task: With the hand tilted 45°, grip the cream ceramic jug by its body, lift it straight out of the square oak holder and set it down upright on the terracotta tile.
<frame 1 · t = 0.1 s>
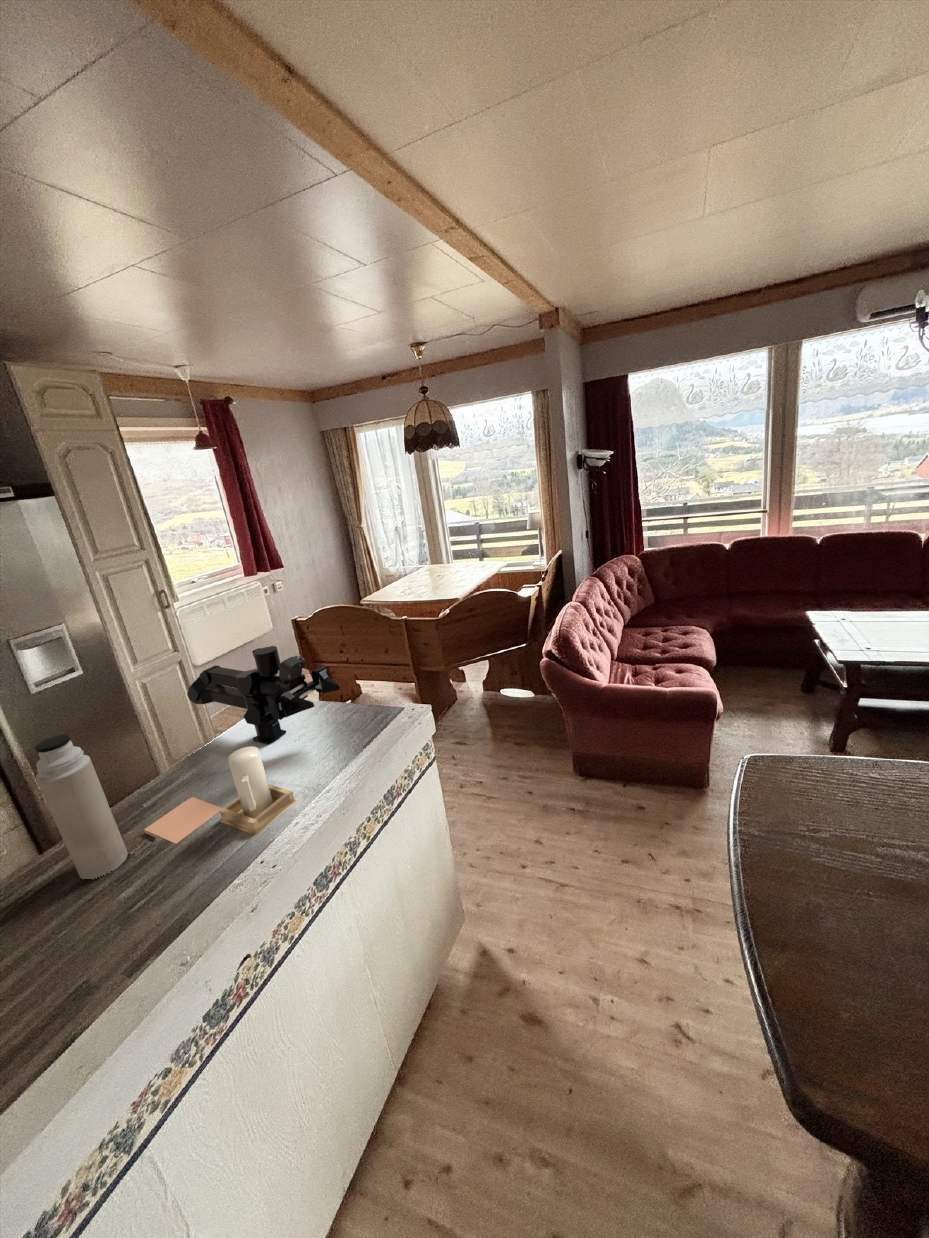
hand: (327, 696, 120), 17 cm above the counter, tool horizontal, fingers open, 9 cm apart
holder: (260, 814, 106), on the counter
thermos bottle: (104, 864, 97), on the counter
tile: (185, 822, 106), on the counter
jug: (259, 810, 106), point 1 cm above the counter, touching holder
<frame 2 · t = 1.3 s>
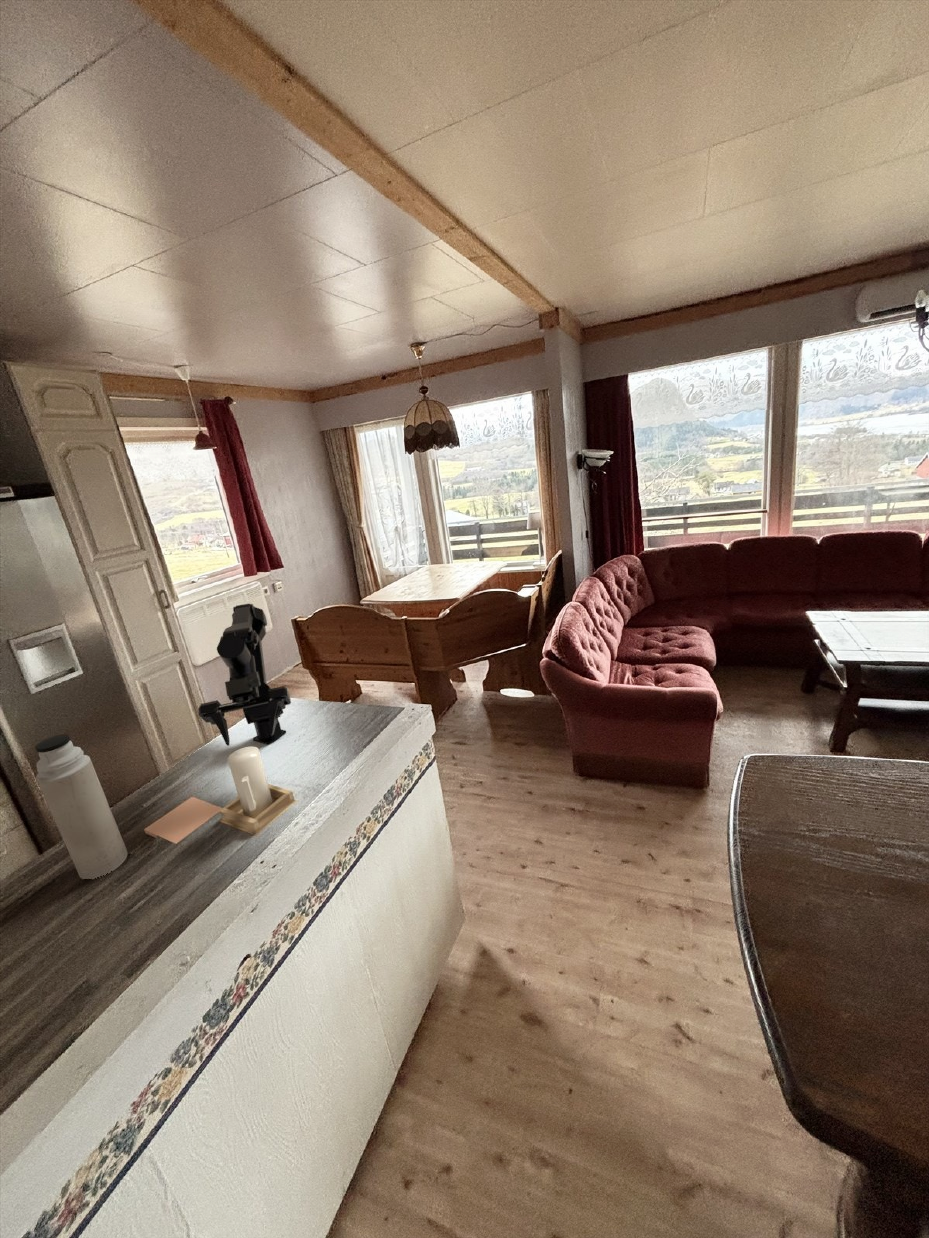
hand: (250, 739, 109), 14 cm above the counter, tool tilted 45°, fingers open, 9 cm apart
nothing on the counter moved.
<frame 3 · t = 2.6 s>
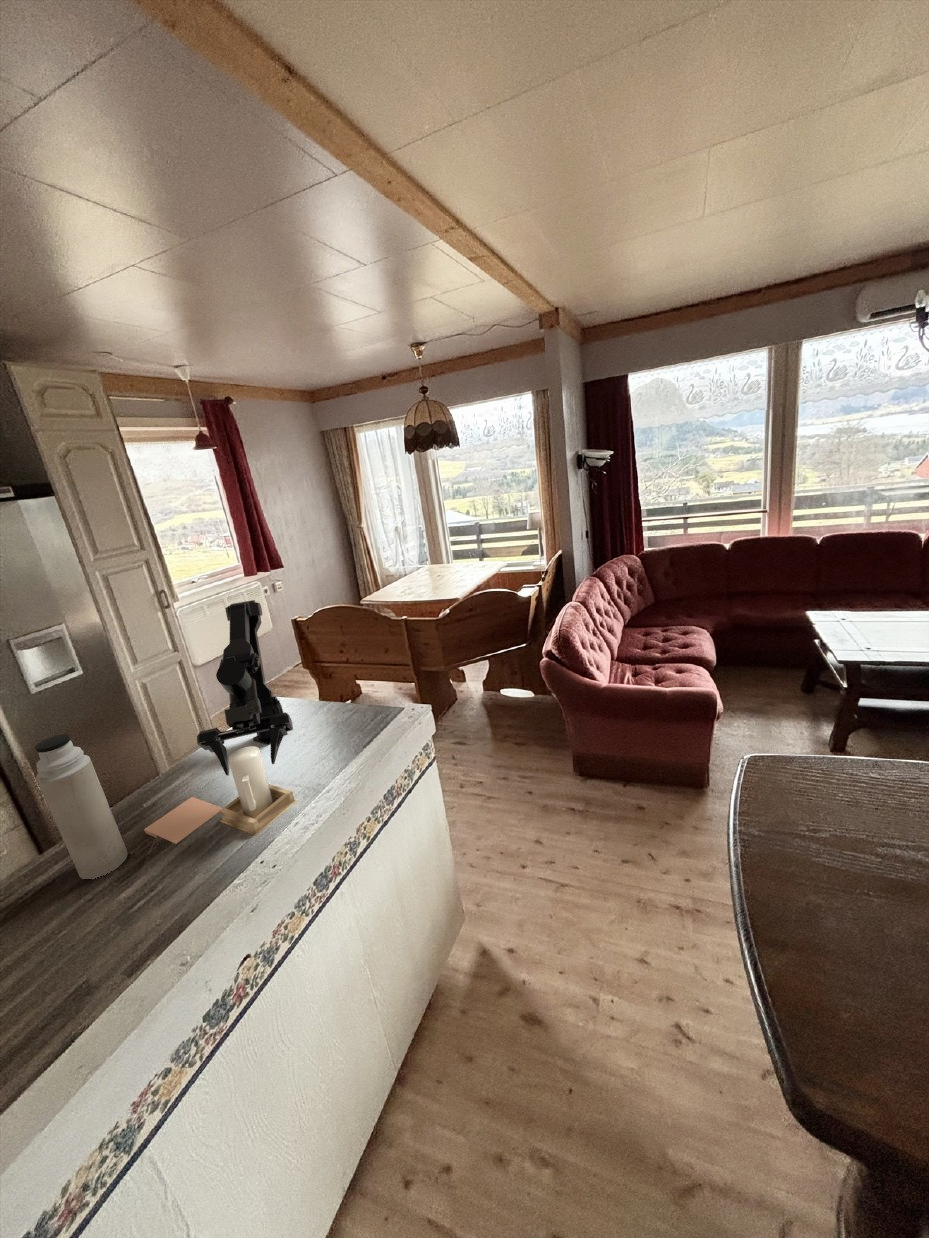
hand: (250, 769, 105), 10 cm above the counter, tool tilted 45°, fingers open, 9 cm apart
nothing on the counter moved.
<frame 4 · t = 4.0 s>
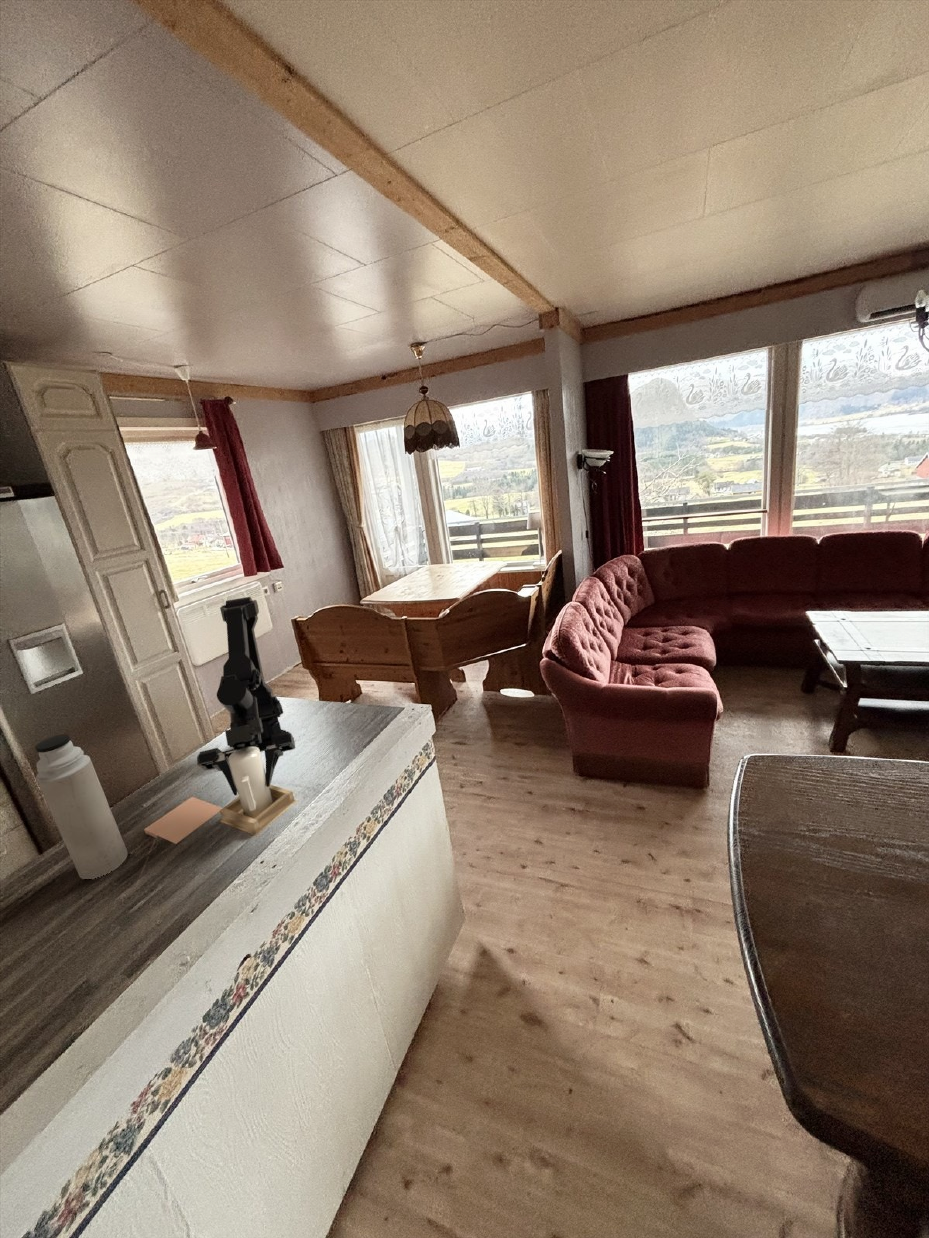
hand: (252, 790, 103), 7 cm above the counter, tool tilted 45°, fingers closed on jug, 6 cm apart
jug: (259, 810, 106), point 1 cm above the counter, touching gripper, holder
everything else where it was.
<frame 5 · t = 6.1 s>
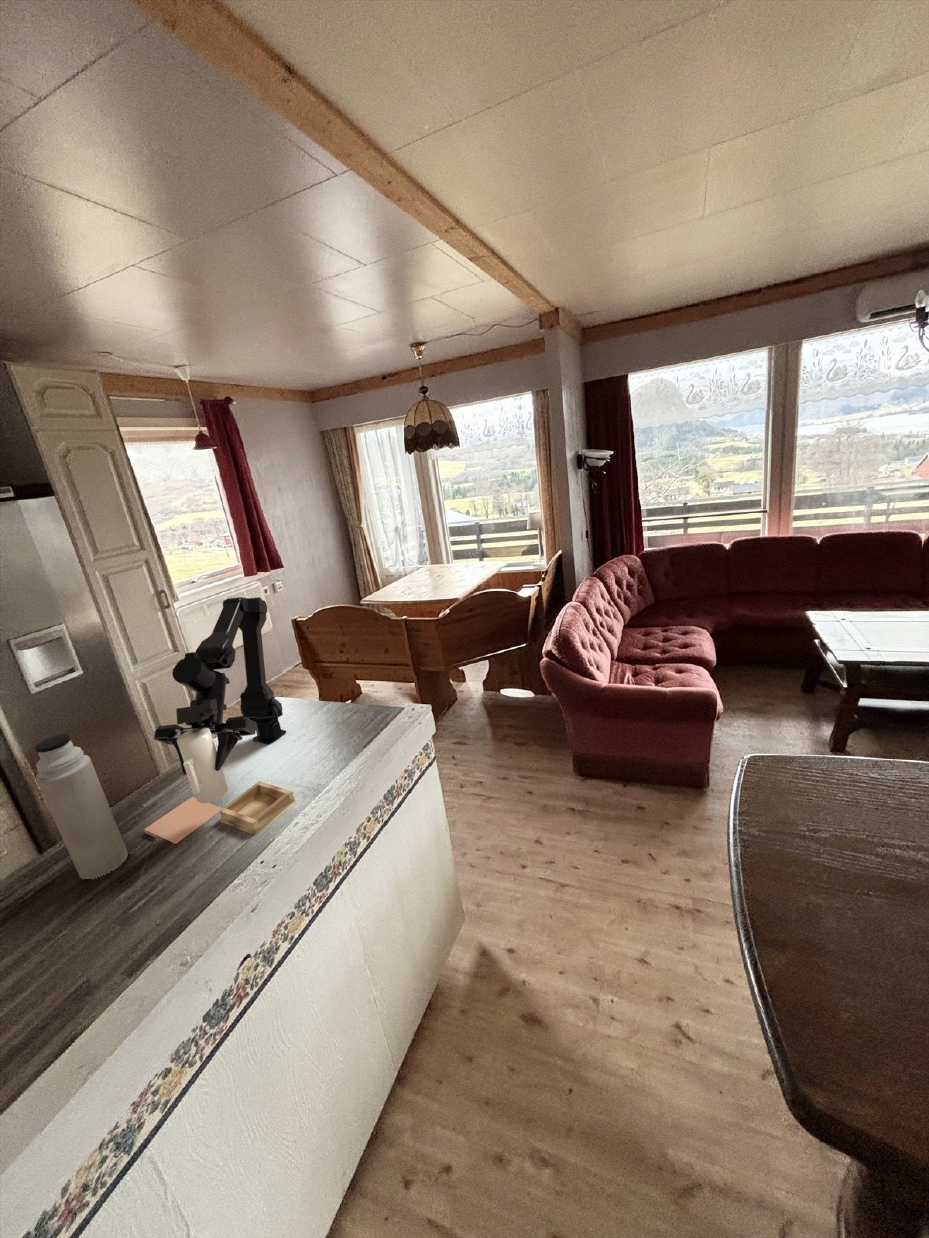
hand: (201, 772, 100), 13 cm above the counter, tool tilted 45°, fingers closed on jug, 6 cm apart
jug: (212, 792, 103), point 7 cm above the counter, touching gripper
everything else where it was.
when the fingers open (8 cm above the counter, at t = 8.3 s): jug drops 1 cm, resting on tile.
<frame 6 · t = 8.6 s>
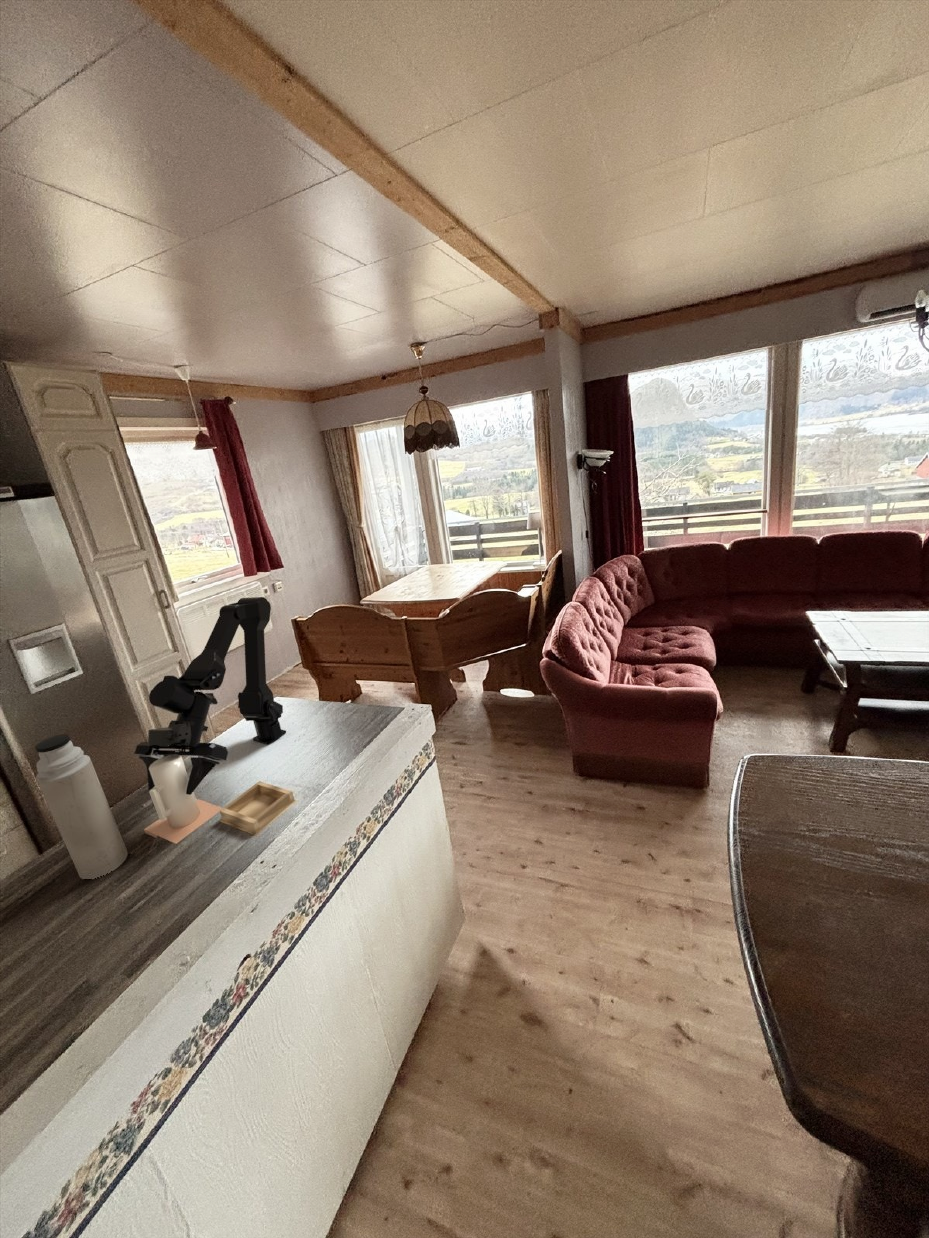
hand: (169, 793, 102), 9 cm above the counter, tool tilted 45°, fingers open, 9 cm apart
jug: (185, 818, 106), point 1 cm above the counter, touching tile
everything else where it was.
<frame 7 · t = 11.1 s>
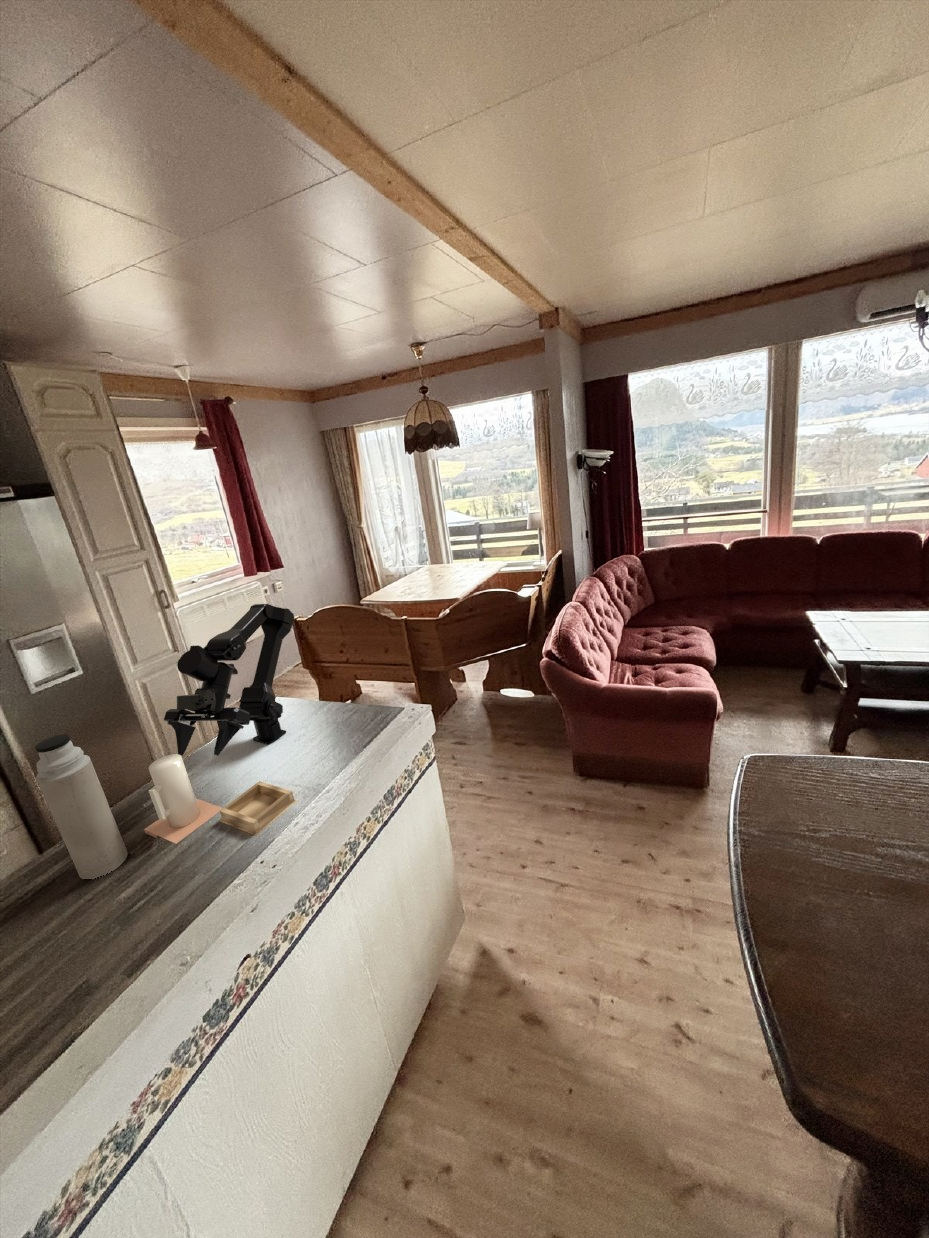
hand: (198, 755, 110), 12 cm above the counter, tool tilted 45°, fingers open, 9 cm apart
nothing on the counter moved.
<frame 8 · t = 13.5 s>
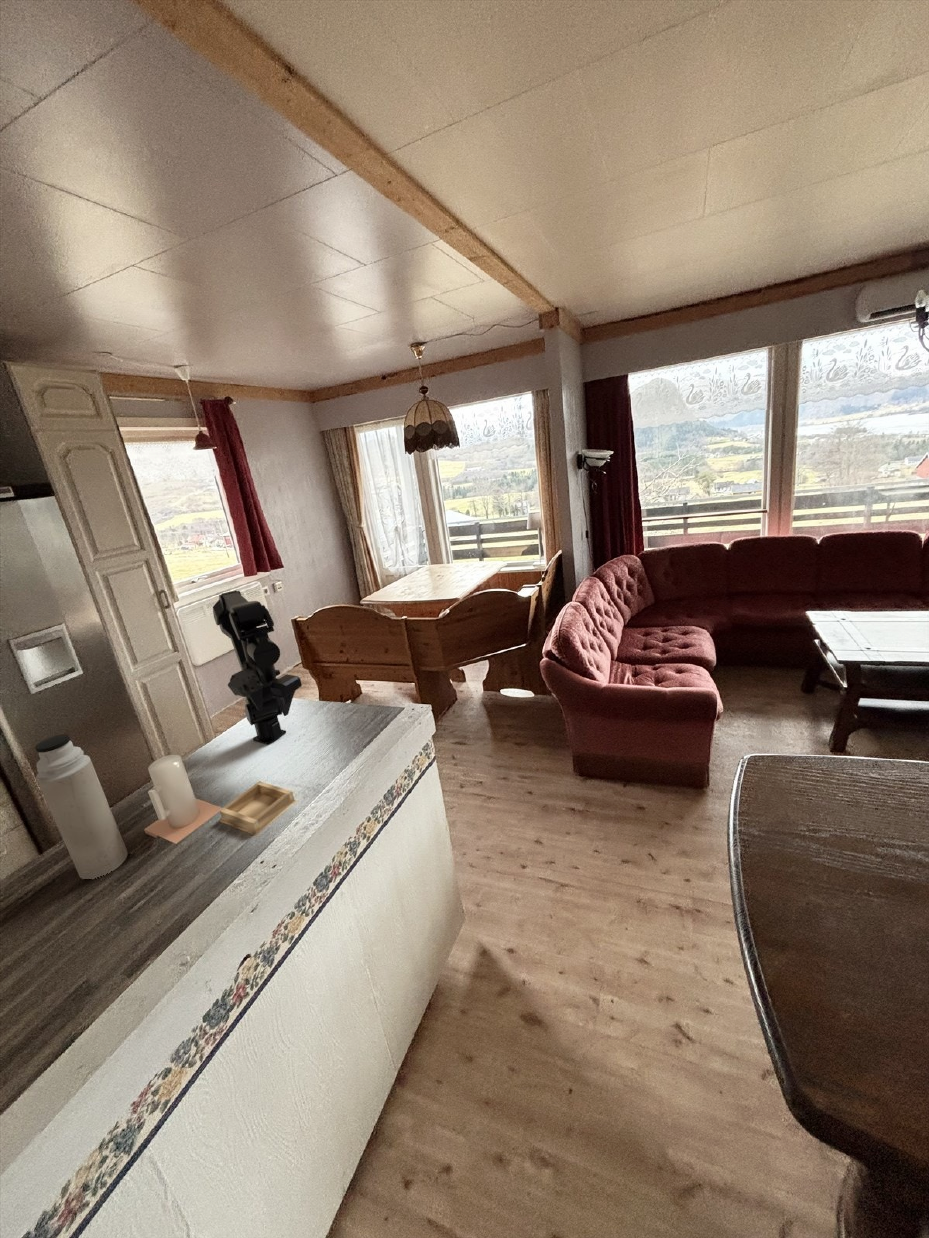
hand: (273, 712, 123), 13 cm above the counter, tool pointing down, fingers open, 9 cm apart
nothing on the counter moved.
at the end: jug 0.2 cm off-centre on the tile, point 1.0 cm above the tile's base; jug tilted 1°; the gripper is holding nothing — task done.
